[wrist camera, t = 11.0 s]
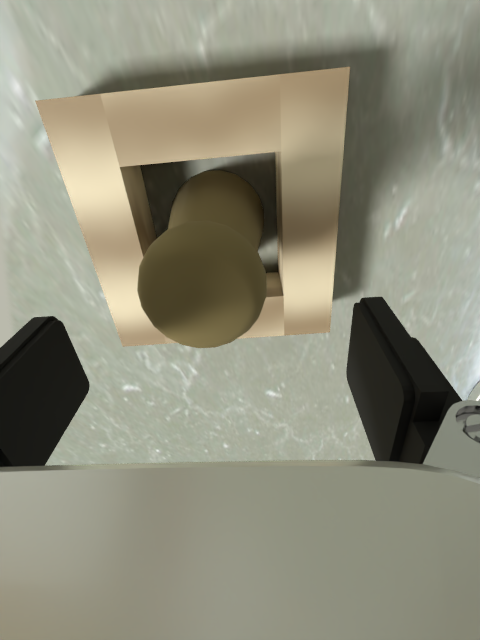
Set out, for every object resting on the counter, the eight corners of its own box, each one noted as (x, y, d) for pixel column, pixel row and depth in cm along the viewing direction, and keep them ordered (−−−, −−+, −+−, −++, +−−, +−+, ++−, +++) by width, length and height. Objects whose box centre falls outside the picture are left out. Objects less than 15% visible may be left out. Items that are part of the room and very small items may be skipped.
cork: (280, 237, 22) (308, 333, 13) (204, 278, 23) (180, 390, 14) (233, 148, 19) (225, 189, 10) (151, 203, 21) (77, 282, 11)
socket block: (319, 305, 25) (329, 332, 22) (136, 318, 25) (122, 346, 22) (331, 73, 17) (350, 66, 14) (69, 101, 18) (35, 100, 15)
